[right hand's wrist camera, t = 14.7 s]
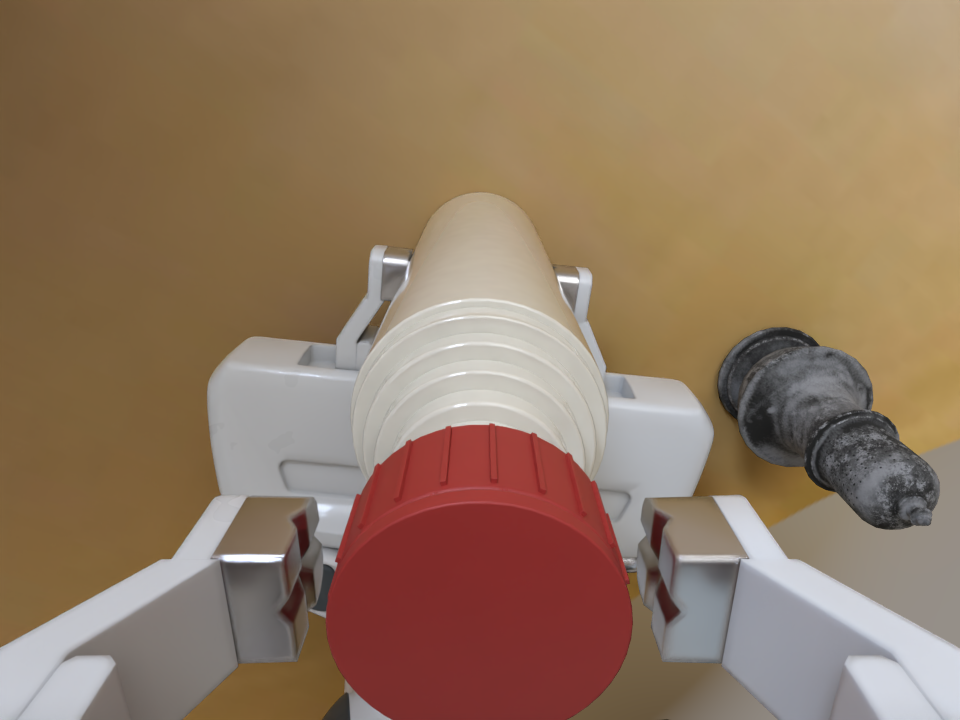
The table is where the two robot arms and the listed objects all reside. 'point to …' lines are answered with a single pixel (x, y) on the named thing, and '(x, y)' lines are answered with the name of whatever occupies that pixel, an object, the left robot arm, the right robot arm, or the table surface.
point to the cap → (479, 582)
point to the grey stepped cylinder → (825, 425)
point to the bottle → (479, 342)
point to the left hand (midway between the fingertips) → (481, 258)
